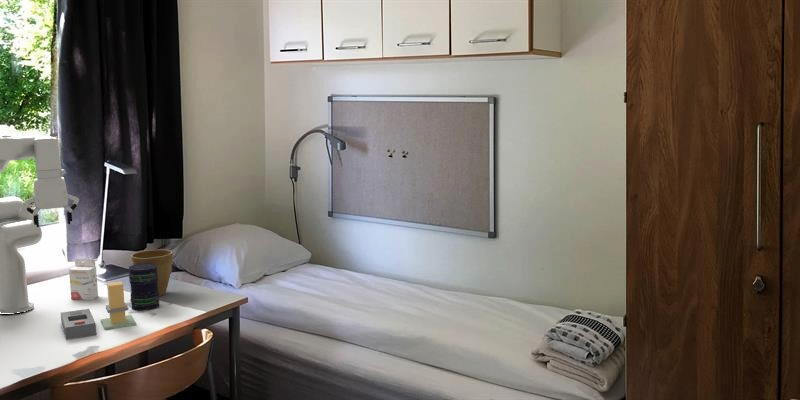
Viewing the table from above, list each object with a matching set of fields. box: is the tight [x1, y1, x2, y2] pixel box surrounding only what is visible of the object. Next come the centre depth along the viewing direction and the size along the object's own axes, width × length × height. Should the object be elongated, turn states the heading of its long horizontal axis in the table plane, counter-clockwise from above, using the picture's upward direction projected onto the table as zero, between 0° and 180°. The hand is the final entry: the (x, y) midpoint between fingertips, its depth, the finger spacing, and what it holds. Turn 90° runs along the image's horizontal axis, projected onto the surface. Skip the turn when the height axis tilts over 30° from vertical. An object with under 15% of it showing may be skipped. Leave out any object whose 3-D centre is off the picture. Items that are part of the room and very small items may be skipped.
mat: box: [100, 314, 137, 331], centre depth 264 cm, size 10×10×1 cm
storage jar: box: [128, 263, 161, 312], centre depth 281 cm, size 10×10×15 cm
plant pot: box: [130, 249, 174, 297], centre depth 297 cm, size 15×15×16 cm
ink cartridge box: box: [68, 258, 99, 301], centre depth 294 cm, size 9×5×15 cm, turn 84°
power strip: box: [60, 308, 97, 340], centre depth 258 cm, size 18×9×5 cm, turn 28°
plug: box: [105, 280, 129, 324], centre depth 263 cm, size 6×6×13 cm
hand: (53, 225), depth 263 cm, fingers open, 9 cm apart
